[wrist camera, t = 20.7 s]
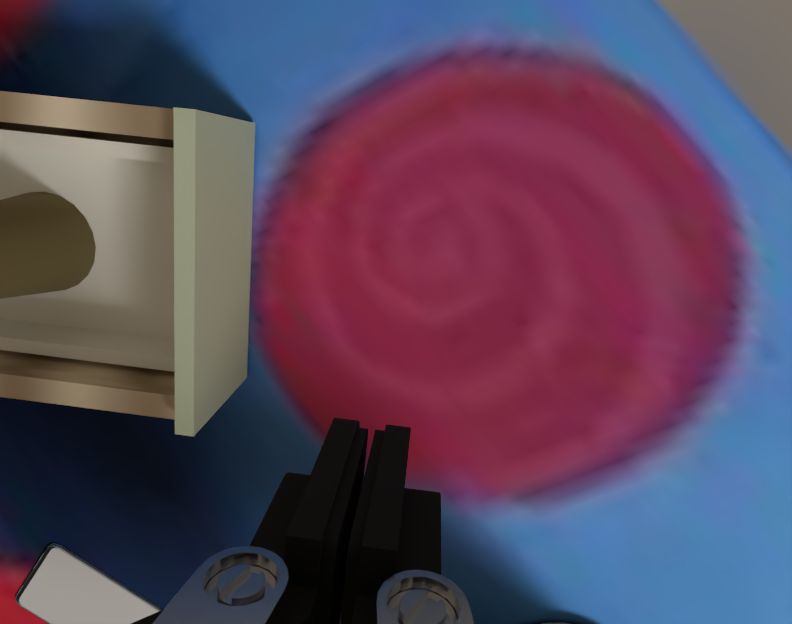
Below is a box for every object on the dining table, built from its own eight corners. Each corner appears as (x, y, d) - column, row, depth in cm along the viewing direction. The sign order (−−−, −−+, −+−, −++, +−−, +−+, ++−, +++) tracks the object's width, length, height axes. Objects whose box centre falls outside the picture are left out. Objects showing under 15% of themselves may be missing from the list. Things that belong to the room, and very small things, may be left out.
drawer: (255, 123, 32) (195, 109, 24) (246, 377, 36) (193, 436, 28) (-48, 91, 33) (-201, 68, 25) (-22, 343, 37) (-146, 392, 29)
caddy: (235, 121, 33) (181, 109, 26) (229, 373, 37) (182, 420, 30) (-73, 89, 33) (-202, 69, 27) (-44, 339, 38) (-150, 377, 31)
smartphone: (50, 542, 41) (218, 647, 43) (55, 537, 42) (221, 641, 43) (12, 601, 43) (174, 700, 44) (17, 596, 43) (177, 694, 45)
